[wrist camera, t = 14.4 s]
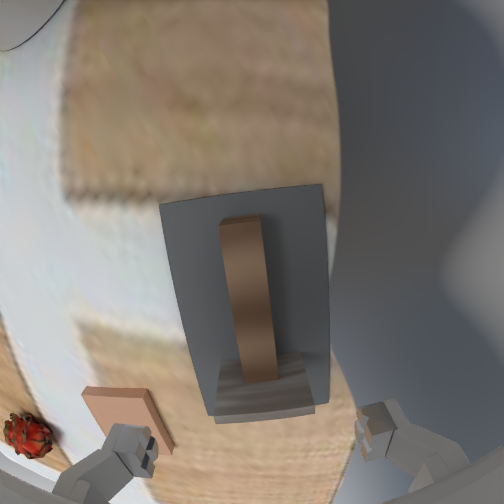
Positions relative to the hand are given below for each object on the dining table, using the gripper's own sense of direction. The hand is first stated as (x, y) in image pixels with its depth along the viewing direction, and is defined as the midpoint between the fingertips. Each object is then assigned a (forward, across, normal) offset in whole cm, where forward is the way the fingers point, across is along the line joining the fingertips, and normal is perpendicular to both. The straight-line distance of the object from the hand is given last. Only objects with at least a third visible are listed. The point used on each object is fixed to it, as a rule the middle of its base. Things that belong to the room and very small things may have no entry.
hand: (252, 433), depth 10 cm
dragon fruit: (+18, +40, +24) cm, 50 cm away
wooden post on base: (+17, 0, +2) cm, 17 cm away
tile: (+17, +18, +12) cm, 28 cm away
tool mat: (+18, 0, +4) cm, 18 cm away
